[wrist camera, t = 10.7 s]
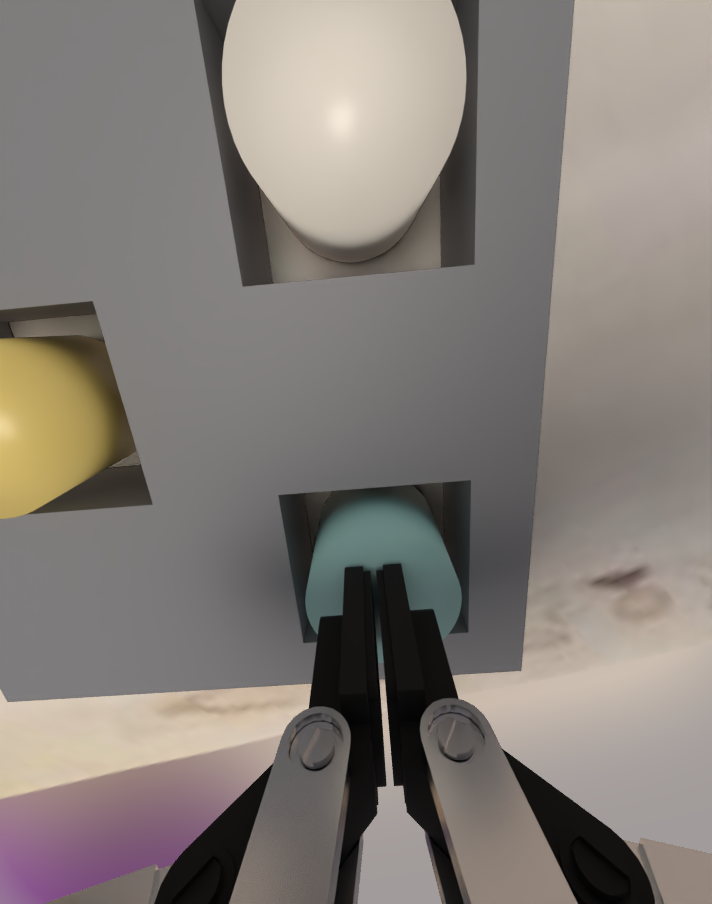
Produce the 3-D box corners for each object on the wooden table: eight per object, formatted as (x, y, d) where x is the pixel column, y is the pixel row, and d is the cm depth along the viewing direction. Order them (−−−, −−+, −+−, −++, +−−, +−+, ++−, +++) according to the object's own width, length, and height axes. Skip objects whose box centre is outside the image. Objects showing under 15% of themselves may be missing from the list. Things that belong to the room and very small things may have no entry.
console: (508, -33, 11) (592, -230, 7) (486, 596, 18) (521, 670, 14) (-162, 47, 11) (-425, -92, 7) (79, 624, 18) (7, 701, 15)
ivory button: (423, 71, 10) (467, -97, 6) (427, 255, 12) (465, 219, 8) (260, 89, 10) (197, -64, 6) (284, 268, 12) (246, 240, 8)
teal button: (432, 469, 14) (462, 530, 10) (433, 570, 16) (461, 658, 12) (312, 479, 14) (294, 542, 10) (326, 577, 16) (315, 667, 12)
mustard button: (133, 329, 13) (22, 332, 8) (167, 456, 14) (87, 512, 10) (2, 341, 13) (-171, 350, 9) (49, 466, 14) (-77, 524, 10)
